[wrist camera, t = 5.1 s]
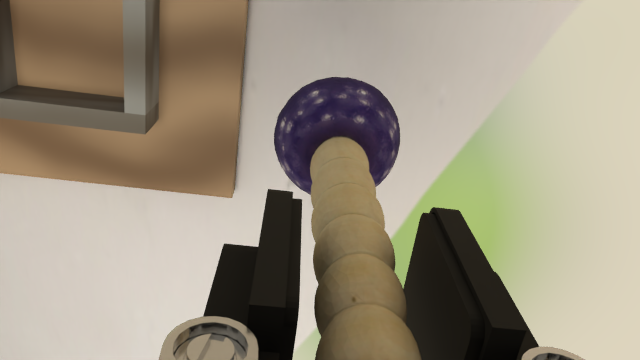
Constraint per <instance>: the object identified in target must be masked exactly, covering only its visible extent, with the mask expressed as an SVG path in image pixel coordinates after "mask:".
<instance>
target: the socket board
mask: <svg viewBox="0 0 640 360" xmlns="http://www.w3.org/2000/svg"><path fill="white" fill-rule="evenodd" d="M247 13H248V0H0V173H4V174H14V175H23V176H32V177H41V178H51V179H60V180H69V181H79V182H88V183H97V184H106V185H116V186H125V187H134V188H143V189H153V190H162V191H171V192H180V193H190V194H199V195H208V196H217V197H227V198H232V196H233V193H234V189H235V177H236V163H237V150H238V136H239V122H240V109H241V95H242V81H243V68H244V54H245V40H246V27H247Z"/></svg>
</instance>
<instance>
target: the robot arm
mask: <svg viewBox="0 0 640 360" xmlns="http://www.w3.org/2000/svg"><path fill="white" fill-rule="evenodd" d="M301 219H302V199H293V192H289V191H280V190H271V189H268V192H267V198H266V204H265V210H264V216H263V222H262V228H261V234H260V240H259V246H258V247H253V246H243V245H233V244H224V246H223V249H222V252H221V256H220V259H219V263H218V266H217V270H216V273H215V277H214V280H213V284H212V287H211V291H210V295H209V298H208V302H207V305H206V309H205V312H204V316H203V317H199V318H195V319H191V320H188V321H186V322H184V323H182V324H180V325H178V326H176V327H175V328H174V329H173V330H172V331H171V332H170V333H169V334H168V335H167V337H166V339H165V341H164V343H163V345H162V349H161V353H160V357H159V360H292V357H293V350H294V343H295V336H296V329H297V321H298V311H299V294H300V256H301ZM403 291H404V294H405V298H406V305H407V319H406V326H407V327H408V328H409V329H410V331H411V333H412V335H413V337H414V339H415V341H416V343H417V345H418V348H419V352H420V355H421V360H584V359H583V358H581V357H579V356H577V355H575V354H573V353H570V352H568V351H565V350H562V349H557V348H553V347H539V346H538V344H537V342H536V340H535V338H534V337H533V335H532V333H531V331H530V330H529V328H528V326H527V324H526V323H525V321H524V319H523V317H522V316H521V314H520V312H519V310H518V309H517V307H516V305H515V303H514V302H513V300H512V298H511V296H510V295H509V293H508V291H507V289H506V288H505V286H504V284H503V282H502V281H501V279H500V277H499V276H498V274H497V273H496V272H494V271H493V269H492V268H491V266H490V264H489V262H488V261H487V259H486V257H485V255H484V253H483V252H482V250H481V248H480V246H479V245H478V243H477V241H476V239H475V237H474V236H473V234H472V232H471V230H470V229H469V227H468V225H467V223H466V221H465V220H464V218H463V216H462V214H461V212H460V211H459V210H453V209H444V208H435V207H433V208H432V209H431V211H430V213H423V214H422V215H421V218H420V222H419V226H418V231H417V234H416V238H415V243H414V247H413V251H412V256H411V259H410V264H409V268H408V272H407V276H406V281H405V285H404V289H403Z"/></svg>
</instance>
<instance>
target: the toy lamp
mask: <svg viewBox="0 0 640 360" xmlns="http://www.w3.org/2000/svg"><path fill="white" fill-rule="evenodd" d="M274 145H275V151H276V154H277V157H278V160H279V162H280V164H281V166H282V168H283V170H284V171H285V173H286V175H287V176H288V177H289V179H290V180H291V181H292V182H293V183H294V184H295V185H296V186H297V187H299V188H300V189H301V190H303V191H305V192H307V193H308V194H310V195H311V201H312V205H313V208H314V210H313V213H312V219H311V224H312V233H313V237H314V240H315V242H316V244H315V248H314V255H313V265H314V271H315V275H316V279H317V281H318V284H319V285H318V288H317V290H316V295H315V305H314V309H315V318H316V323H317V327H318V330H319V333H320V334H321V339H320V342H319V345H318V348H317V352H316V357H315V360H421V355H420V352H419V348H418V345H417V343H416V341H415V339H414V337H413V335H412V333H411V331H410V329H409V328H408V327H407V326H406V319H407V305H406V298H405V294H404V291H403V288H402V285H401V283H400V281H399V279H398V277H397V275H396V274H395V272H394V270H395V255H394V249H393V245H392V243H391V241H390V239H389V236H388V234H387V233H386V232H385V230H384V228H385V222H384V215H383V211H382V208H381V205H380V203H379V201H378V200H377V199H376V189H375V187H376V186H378V185H379V184H380V183H381V182H382V181H383V180H384V179H385V178H386V176H387V175H388V174H389V172H390V171H391V169H392V167H393V165H394V163H395V160H396V157H397V154H398V150H399V145H400V128H399V123H398V118H397V116H396V113H395V111H394V109H393V107H392V105H391V104H390V102H389V101H388V99H387V98H386V97H385V96H384V95H383V94H382V93H381V92H380V91H379V90H378V89H376V88H375V87H373V86H372V85H369V84H367V83H365V82H363V81H359V80H356V79H352V78H340V77H331V78H325V79H320V80H316V81H314V82H312V83H310V84H308V85H306V86H304V87H302V88H301V89H300V90H299V91H297V92H296V93H295V94H294V95H293V96H292V97H291V98H290V99H289V100H288V102H287V104H286V105H285V106H284V108H283V109H282V110H281V112H280V114H279V116H278V119H277V123H276V127H275V133H274Z"/></svg>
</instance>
